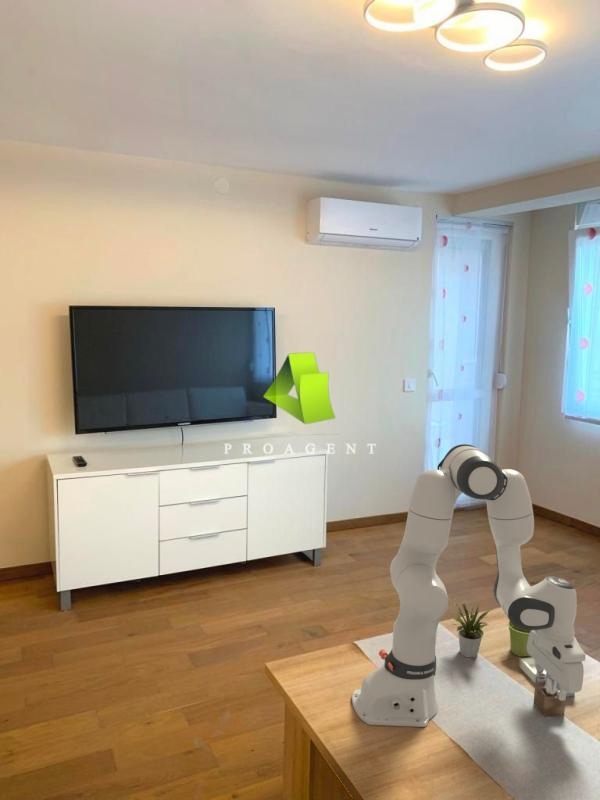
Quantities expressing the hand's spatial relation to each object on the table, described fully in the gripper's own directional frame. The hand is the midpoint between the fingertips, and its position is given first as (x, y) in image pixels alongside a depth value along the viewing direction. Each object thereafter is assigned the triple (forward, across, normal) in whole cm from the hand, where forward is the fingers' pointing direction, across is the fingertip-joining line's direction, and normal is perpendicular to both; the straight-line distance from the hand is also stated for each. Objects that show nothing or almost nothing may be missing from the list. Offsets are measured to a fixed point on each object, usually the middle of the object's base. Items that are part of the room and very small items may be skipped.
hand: (550, 688), depth 167 cm
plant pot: (+6, -28, +8) cm, 30 cm away
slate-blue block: (+6, -8, +8) cm, 13 cm away
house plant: (+6, -30, -10) cm, 32 cm away
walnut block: (+6, 0, 0) cm, 6 cm away
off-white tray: (+6, -16, +8) cm, 19 cm away
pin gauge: (+6, 0, 0) cm, 6 cm away
